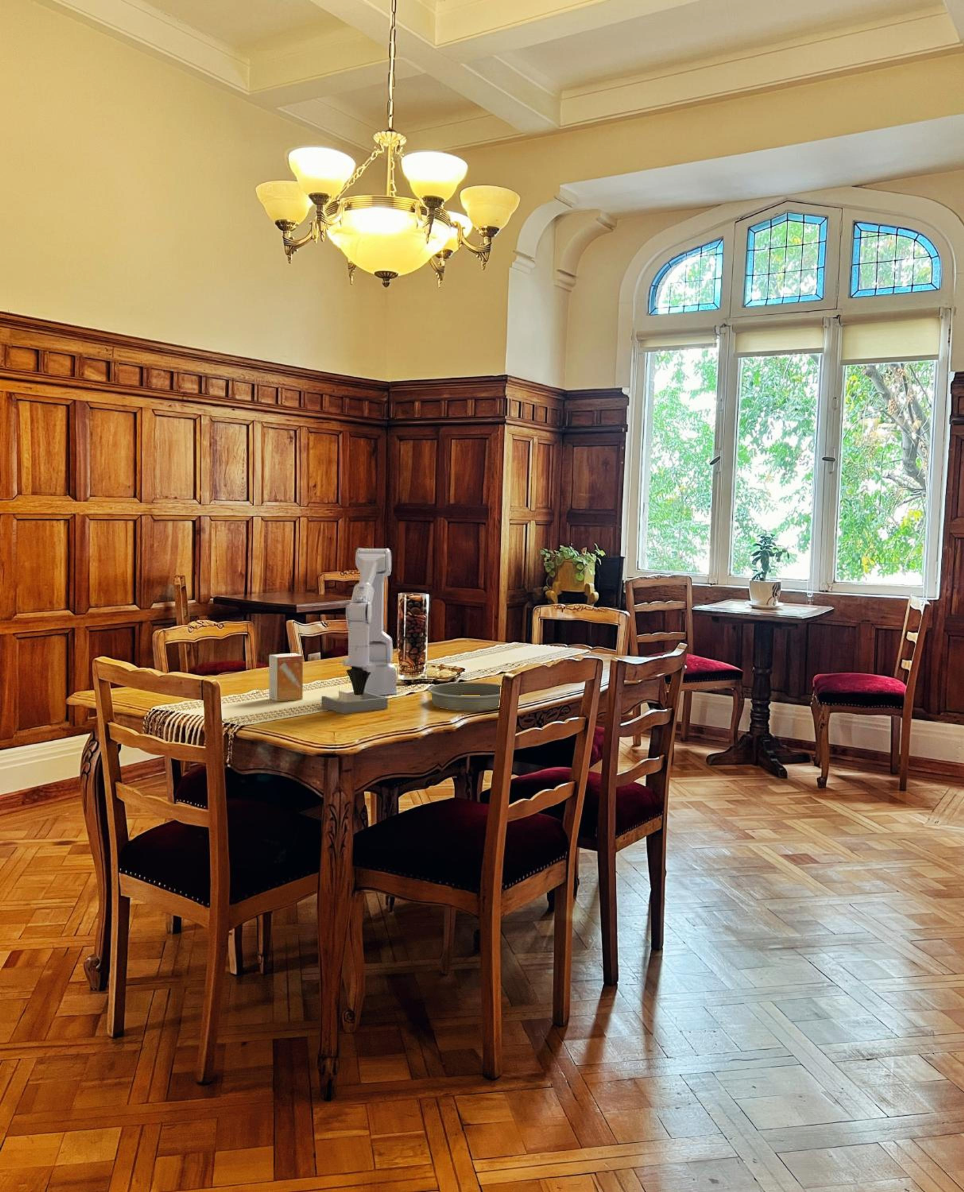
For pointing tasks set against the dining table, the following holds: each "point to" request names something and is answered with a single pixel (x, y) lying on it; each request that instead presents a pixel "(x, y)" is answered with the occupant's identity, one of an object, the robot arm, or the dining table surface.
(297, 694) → the small box
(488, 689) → the cake pan
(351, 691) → the ivory cube
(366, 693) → the gray tray
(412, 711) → the dining table surface
